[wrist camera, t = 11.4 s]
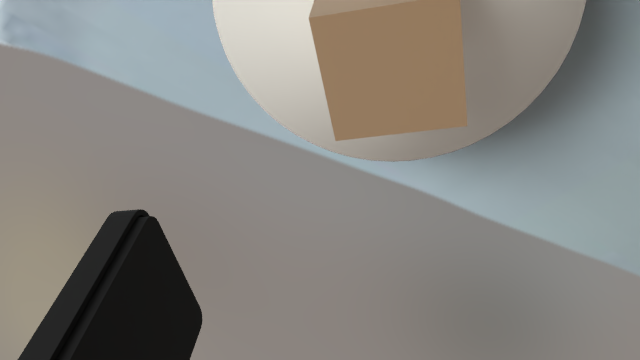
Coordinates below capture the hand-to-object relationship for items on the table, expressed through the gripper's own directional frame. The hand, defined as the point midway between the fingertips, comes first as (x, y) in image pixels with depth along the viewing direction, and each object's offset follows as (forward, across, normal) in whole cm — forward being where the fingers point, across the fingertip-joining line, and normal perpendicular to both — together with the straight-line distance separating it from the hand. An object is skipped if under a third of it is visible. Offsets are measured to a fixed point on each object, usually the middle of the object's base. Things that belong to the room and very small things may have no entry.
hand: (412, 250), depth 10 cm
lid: (+13, +1, 0) cm, 13 cm away
